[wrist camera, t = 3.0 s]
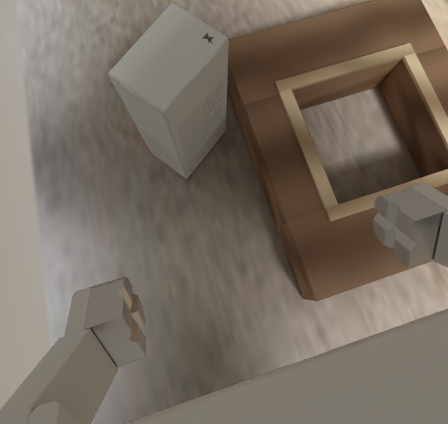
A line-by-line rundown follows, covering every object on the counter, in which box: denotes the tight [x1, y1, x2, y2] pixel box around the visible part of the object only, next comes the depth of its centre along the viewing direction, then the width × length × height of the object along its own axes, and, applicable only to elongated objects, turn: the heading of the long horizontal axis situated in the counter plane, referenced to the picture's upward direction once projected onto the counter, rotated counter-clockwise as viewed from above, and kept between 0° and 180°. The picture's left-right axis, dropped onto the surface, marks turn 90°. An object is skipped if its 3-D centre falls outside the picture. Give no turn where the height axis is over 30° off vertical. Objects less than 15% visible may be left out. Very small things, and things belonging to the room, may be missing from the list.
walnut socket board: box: [227, 0, 448, 301], centre depth 28 cm, size 22×18×4 cm
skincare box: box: [108, 2, 229, 179], centre depth 24 cm, size 6×4×12 cm
